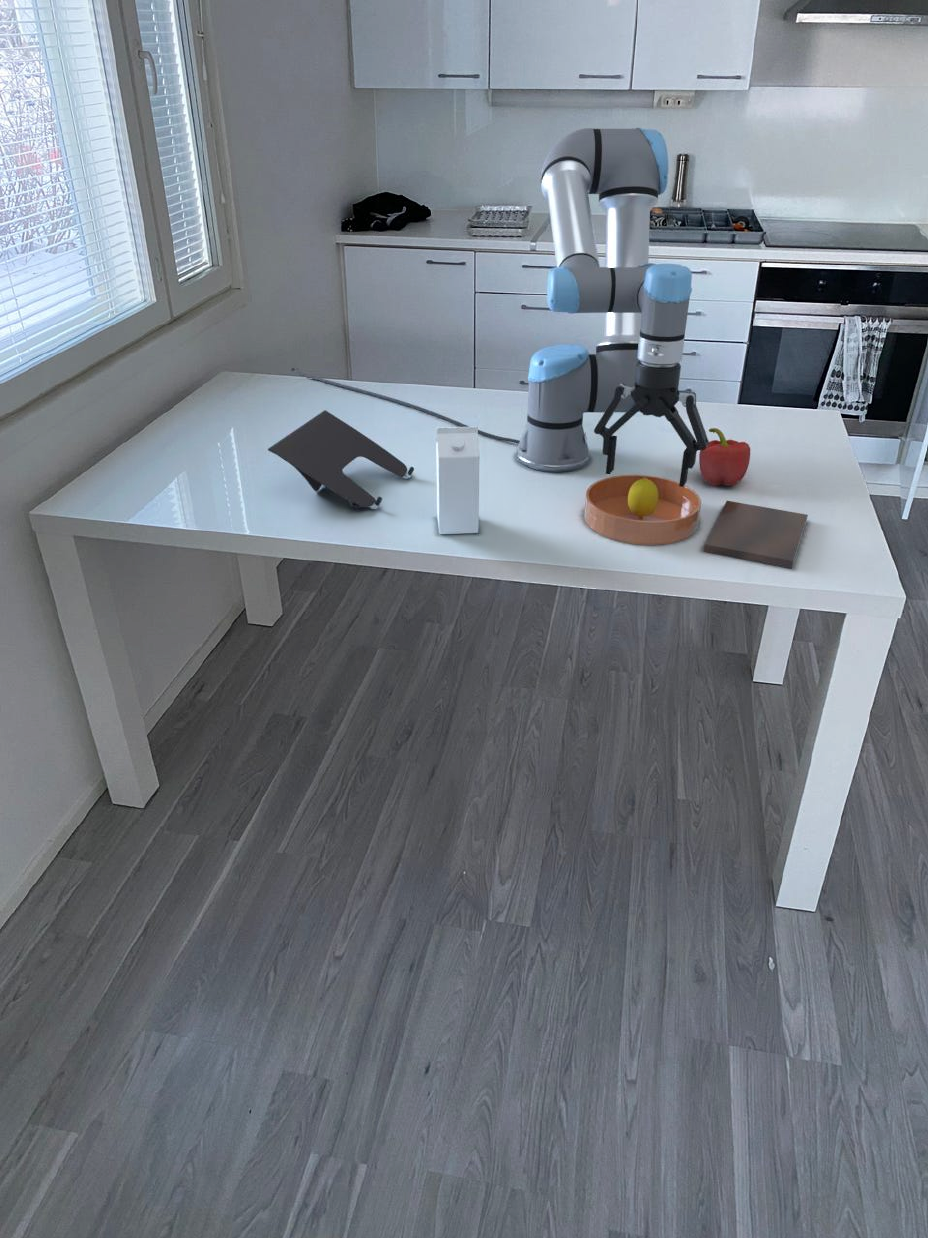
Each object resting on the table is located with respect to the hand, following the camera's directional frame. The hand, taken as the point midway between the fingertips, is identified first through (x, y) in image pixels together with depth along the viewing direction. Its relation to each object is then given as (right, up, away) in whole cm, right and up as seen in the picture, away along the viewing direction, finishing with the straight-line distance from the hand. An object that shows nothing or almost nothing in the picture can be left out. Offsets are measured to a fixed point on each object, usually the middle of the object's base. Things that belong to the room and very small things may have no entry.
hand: (645, 477), depth 171 cm
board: (+20, -11, -1) cm, 23 cm away
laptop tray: (-56, +1, +17) cm, 59 cm away
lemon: (0, -7, +5) cm, 8 cm away
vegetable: (+19, +2, +20) cm, 28 cm away
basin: (0, -7, +5) cm, 9 cm away
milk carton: (-34, -9, +2) cm, 36 cm away
